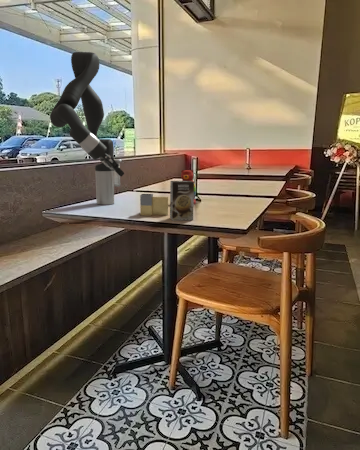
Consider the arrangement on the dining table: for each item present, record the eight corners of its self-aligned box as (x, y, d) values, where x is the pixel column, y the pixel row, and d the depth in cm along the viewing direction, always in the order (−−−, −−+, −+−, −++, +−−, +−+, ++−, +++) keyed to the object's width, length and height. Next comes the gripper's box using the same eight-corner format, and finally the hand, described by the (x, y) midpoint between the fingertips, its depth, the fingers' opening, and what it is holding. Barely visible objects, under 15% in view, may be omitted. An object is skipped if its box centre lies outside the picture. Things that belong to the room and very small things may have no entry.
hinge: (144, 210, 174) (144, 191, 172) (169, 211, 173) (169, 192, 172) (140, 215, 162) (140, 195, 160) (167, 215, 162) (167, 195, 160)
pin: (113, 185, 163) (112, 159, 160) (123, 185, 163) (122, 159, 160) (110, 186, 158) (109, 159, 156) (121, 186, 158) (120, 159, 156)
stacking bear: (174, 203, 197) (174, 170, 193) (180, 200, 206) (180, 169, 202) (194, 204, 194) (194, 170, 190) (198, 201, 203) (199, 169, 199)
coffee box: (172, 221, 151) (172, 181, 148) (169, 218, 157) (169, 180, 154) (193, 220, 153) (194, 181, 149) (190, 217, 159) (190, 180, 156)
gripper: (103, 139, 147) (132, 169, 155) (94, 139, 159) (122, 167, 167) (90, 152, 146) (120, 182, 154) (82, 152, 158) (111, 179, 166)
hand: (121, 174), depth 160 cm, fingers closed on pin, 2 cm apart
